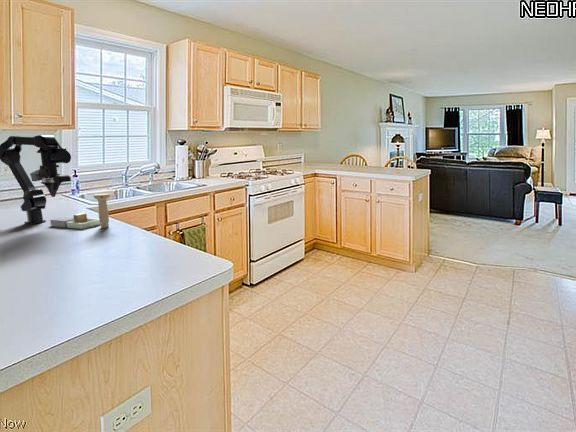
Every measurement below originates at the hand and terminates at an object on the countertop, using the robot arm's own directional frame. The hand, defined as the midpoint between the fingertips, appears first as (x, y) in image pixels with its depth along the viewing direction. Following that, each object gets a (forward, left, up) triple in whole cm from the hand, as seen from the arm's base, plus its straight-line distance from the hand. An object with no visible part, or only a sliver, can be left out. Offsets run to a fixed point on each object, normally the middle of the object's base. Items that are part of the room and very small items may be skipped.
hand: (53, 196), depth 183 cm
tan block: (+13, +1, -10) cm, 16 cm away
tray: (+16, +2, -13) cm, 21 cm away
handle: (+27, +3, -13) cm, 30 cm away
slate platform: (+6, 0, -13) cm, 14 cm away
